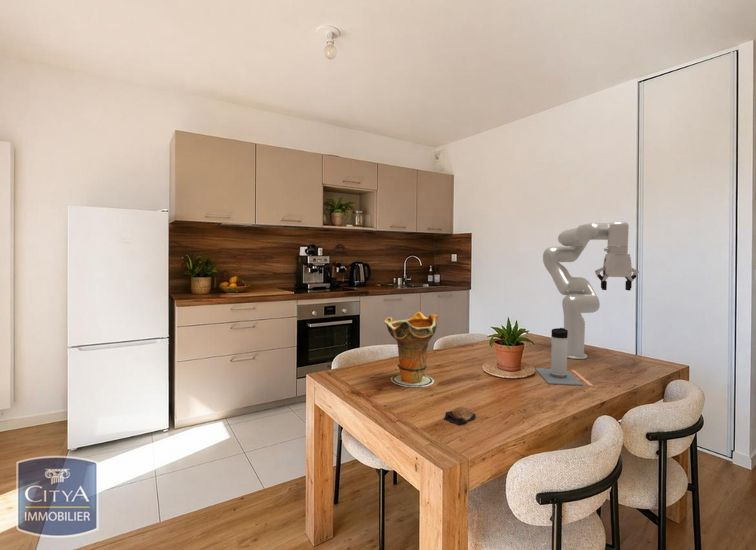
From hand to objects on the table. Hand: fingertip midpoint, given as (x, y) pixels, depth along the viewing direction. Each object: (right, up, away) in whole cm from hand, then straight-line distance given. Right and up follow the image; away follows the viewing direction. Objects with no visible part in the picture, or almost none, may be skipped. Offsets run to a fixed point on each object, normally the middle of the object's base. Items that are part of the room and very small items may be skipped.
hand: (615, 290), depth 167 cm
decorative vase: (-90, -37, -9) cm, 97 cm away
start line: (-18, -37, -6) cm, 42 cm away
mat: (-28, -37, -5) cm, 46 cm away
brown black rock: (-78, -40, -45) cm, 98 cm away
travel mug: (-27, -36, -5) cm, 46 cm away
